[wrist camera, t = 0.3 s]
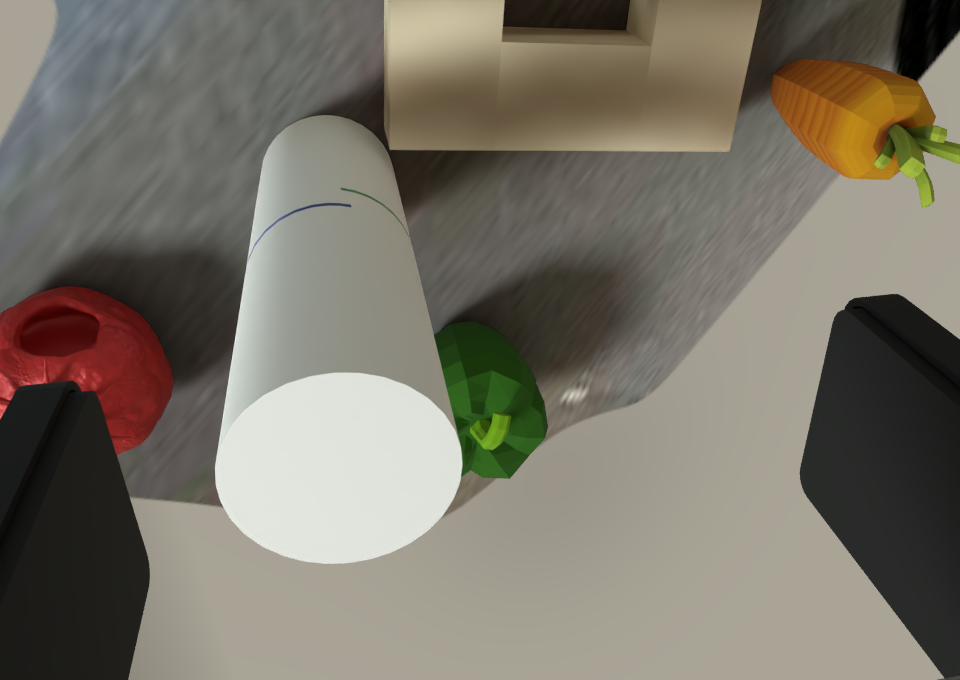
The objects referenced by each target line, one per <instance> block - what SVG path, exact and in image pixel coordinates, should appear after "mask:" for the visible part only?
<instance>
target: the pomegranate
mask: <svg viewBox="0 0 960 680" xmlns="http://www.w3.org/2000/svg"><path fill="white" fill-rule="evenodd" d="M71 380H73V381H74V382H76V383H77V384H78V385H79V387H80V388H81V391H82V392H83V391H94V392H95V393H96V394H97V396H98V398H99V400H100V403H101V406H102V409H103V413H104V416H105V419H106V422H107V426H108V429H109V432H110V435H111V439H112V442H113V445H114V448H115V452H116V455H118V454H120V453H122V452H124V451H127V450H130V449H132V448H134V447H136V446H138V445H140V444H141V443H142V442H143V441H145V440H146V438H147V437H148V436H149V435H150V434H151V432H152V430H153V429H154V427H155V425H156V424H157V422H158V421H159V419H160V418H161V416H162V414H163V412H164V410H165V408H166V406H167V403H168V402H169V400H170V398H171V394H172V389H173V374H172V370H171V367H170V365H169V363H168V361H167V359H166V356H165V354H164V351H163V349H162V347H161V345H160V342H159V340H158V338H157V336H156V334H155V333H154V331H153V330H152V328H151V327H150V325H149V324H148V323H147V321H146V320H145V319H144V318H143V317H142V316H141V315H140V314H139V313H137V312H136V311H134V310H133V309H131V308H130V307H129V306H127V305H125V304H123V303H121V302H119V301H117V300H115V299H114V298H112V297H110V296H108V295H106V294H102V293H100V292H97V291H94V290H91V289H89V288H84V287H69V286H65V287H59V288H55V289H51V290H48V291H43V292H40V293H36V294H33V295H31V296H29V297H27V298H26V299H24V300H23V301H21V302H19V303H18V304H17V305H16V306H14V307H12V308H8V309H7V310H5V311H3V312H2V313H1V314H0V419H1V417H2V415H3V413H4V412H5V410H6V408H7V406H8V404H9V402H10V401H11V399H12V397H13V395H14V393H15V392H16V390H17V389H18V388H19V387H20V386H24V385H33V384H42V383H52V382H61V381H71Z"/></svg>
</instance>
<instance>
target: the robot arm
mask: <svg viewBox="0 0 960 680" xmlns="http://www.w3.org/2000/svg"><path fill="white" fill-rule="evenodd" d="M800 480H801V484H802V488H803V490H804V493H805V494H806V496H807V498H808V499H809V500H810V501H811V503H812V504H813V505H814V507H815V508H816V509H817V511H818V512H819V513H820V515H821V516H822V517H823V519H824V520H825V521H826V523H827V524H828V525H829V526H830V528H831V529H832V530H833V532H834V533H835V534H836V536H837V537H838V538H839V539H840V541H841V542H842V544H843V545H844V546H845V548H846V549H847V550H848V551H849V553H850V554H851V555H852V557H853V558H854V559H855V561H856V562H857V563H858V565H859V566H860V567H861V569H862V570H863V571H864V573H865V574H866V575H867V576H868V578H869V579H870V580H871V582H872V583H873V584H874V586H875V587H876V588H877V590H878V591H879V592H880V593H881V595H882V596H883V598H884V599H885V600H886V601H887V603H888V604H889V605H890V607H891V608H892V609H893V611H894V612H895V613H896V615H897V616H898V617H899V618H900V620H901V621H902V623H903V624H904V625H905V626H906V628H907V629H908V630H909V632H910V633H911V634H912V636H913V637H914V638H915V640H916V641H917V642H918V644H919V645H920V646H921V647H922V649H923V650H924V651H925V653H926V654H927V655H928V657H929V658H930V659H931V661H932V662H933V663H934V665H935V666H936V667H937V669H938V670H939V671H940V673H941V674H942V675H943V676H944V679H939V680H960V339H958V338H957V337H956V336H954V335H953V334H952V333H950V332H949V331H948V330H947V329H945V328H944V327H942V326H941V325H940V324H939V323H937V322H936V321H935V320H933V319H932V318H931V317H929V316H928V315H927V314H925V313H924V312H923V311H921V310H920V309H919V308H918V307H916V306H915V305H913V304H912V303H911V302H909V301H908V300H907V299H906V298H904V297H902V296H900V295H898V294H889V295H880V296H870V297H860V298H854V299H852V300H851V301H849V302H848V304H847V305H846V306H845V309H844V310H841V311H840V312H838V313H837V315H836V316H835V318H834V321H833V324H832V328H831V333H830V337H829V342H828V346H827V351H826V355H825V360H824V365H823V369H822V373H821V378H820V382H819V387H818V391H817V396H816V400H815V405H814V409H813V414H812V418H811V422H810V427H809V431H808V436H807V440H806V445H805V449H804V454H803V459H802V463H801V468H800ZM149 580H150V570H149V561H148V556H147V553H146V549H145V546H144V543H143V539H142V536H141V533H140V530H139V527H138V523H137V520H136V517H135V514H134V510H133V507H132V504H131V500H130V497H129V494H128V491H127V487H126V484H125V481H124V478H123V474H122V471H121V468H120V465H119V461H118V458H117V455H116V452H115V448H114V445H113V442H112V439H111V435H110V432H109V429H108V426H107V422H106V419H105V416H104V413H103V409H102V406H101V403H100V400H99V398H98V396H97V394H96V393H95V392H94V391H83V392H82V391H81V388H80V387H79V385H78V384H77V383H76V382H74V381H73V380H71V381H61V382H52V383H42V384H33V385H24V386H20V387H19V388H18V389H17V390H16V392H15V393H14V395H13V397H12V399H11V401H10V402H9V404H8V406H7V408H6V410H5V412H4V413H3V415H2V417H1V419H0V680H128V677H129V673H130V668H131V664H132V660H133V655H134V651H135V646H136V642H137V637H138V633H139V628H140V624H141V619H142V615H143V611H144V606H145V602H146V597H147V592H148V588H149Z"/></svg>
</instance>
